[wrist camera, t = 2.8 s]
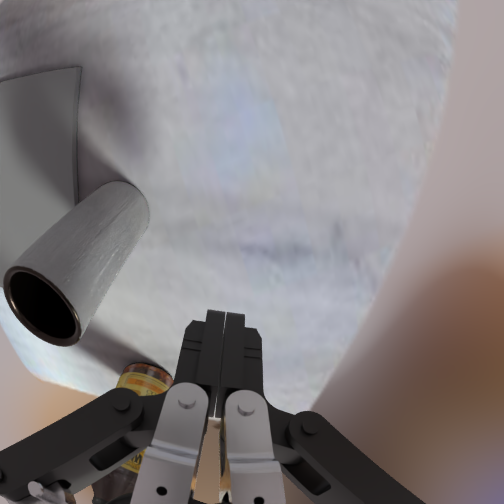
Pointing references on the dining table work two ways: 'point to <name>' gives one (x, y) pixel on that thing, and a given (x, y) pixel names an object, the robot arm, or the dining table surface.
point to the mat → (36, 157)
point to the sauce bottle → (125, 476)
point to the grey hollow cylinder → (76, 263)
